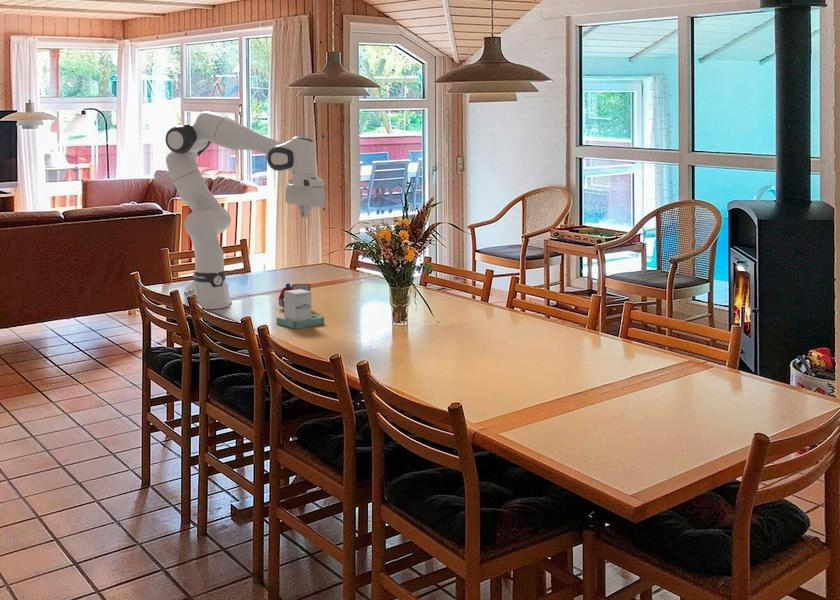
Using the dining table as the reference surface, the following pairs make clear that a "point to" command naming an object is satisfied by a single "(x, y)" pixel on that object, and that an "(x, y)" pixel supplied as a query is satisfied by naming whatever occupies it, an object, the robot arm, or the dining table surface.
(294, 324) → the tray
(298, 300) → the supplement box
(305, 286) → the toy fire truck
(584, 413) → the dining table surface
